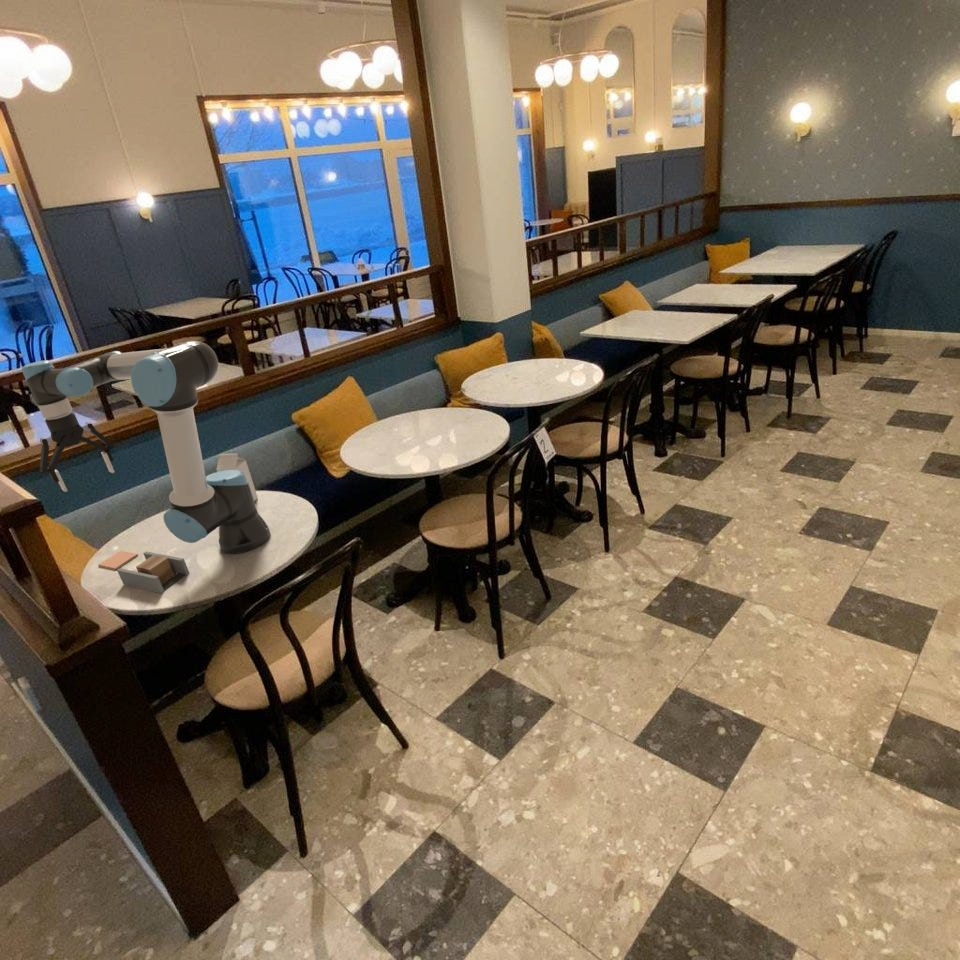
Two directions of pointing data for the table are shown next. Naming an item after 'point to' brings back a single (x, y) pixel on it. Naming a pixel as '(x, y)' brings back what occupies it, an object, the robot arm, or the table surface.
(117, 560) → the tile
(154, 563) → the block
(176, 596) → the table surface
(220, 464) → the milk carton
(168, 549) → the table surface
